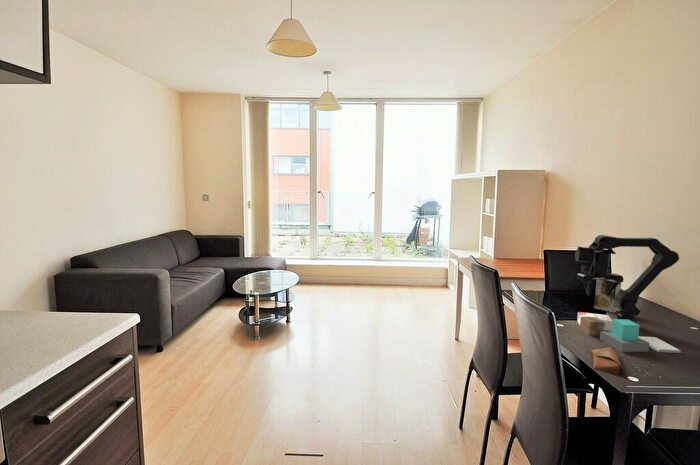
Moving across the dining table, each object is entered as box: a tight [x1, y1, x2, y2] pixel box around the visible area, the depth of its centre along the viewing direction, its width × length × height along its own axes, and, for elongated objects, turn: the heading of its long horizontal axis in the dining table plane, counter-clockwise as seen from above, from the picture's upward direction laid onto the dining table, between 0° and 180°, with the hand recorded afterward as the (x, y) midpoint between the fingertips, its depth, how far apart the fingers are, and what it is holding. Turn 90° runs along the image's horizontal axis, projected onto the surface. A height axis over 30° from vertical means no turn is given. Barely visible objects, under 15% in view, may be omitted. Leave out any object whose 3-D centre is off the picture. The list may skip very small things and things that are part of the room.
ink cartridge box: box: [577, 311, 613, 332], centre depth 163 cm, size 9×5×15 cm
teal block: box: [612, 318, 640, 340], centre depth 143 cm, size 6×6×6 cm
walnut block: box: [579, 317, 604, 336], centre depth 157 cm, size 6×6×6 cm
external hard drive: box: [638, 335, 682, 354], centre depth 145 cm, size 2×8×12 cm
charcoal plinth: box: [599, 330, 650, 353], centre depth 144 cm, size 11×11×4 cm
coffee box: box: [593, 277, 622, 314], centre depth 186 cm, size 9×6×16 cm
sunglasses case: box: [589, 345, 624, 376], centre depth 130 cm, size 18×7×7 cm
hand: (597, 295), depth 168 cm, fingers open, 9 cm apart
